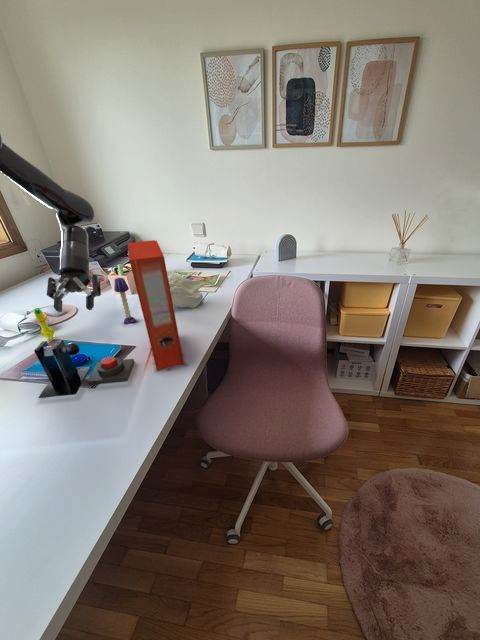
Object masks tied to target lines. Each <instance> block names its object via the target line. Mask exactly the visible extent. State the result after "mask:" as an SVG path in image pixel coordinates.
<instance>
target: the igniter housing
mask: <svg viewBox="0 0 480 640" xmlns="http://www.w3.org/2000/svg"><path fill="white" fill-rule="evenodd" d="M114 358H115V360H116V363H117V365H116V366H115V367H113V368H110V369H104V368H103V367H102V364H101V361H97V362H96V365H95V366H94V368H93V370H92V372H91V373H90V375H89V377H88V379H87V381H86V383H87V384H88V386H92V385H103V384H112V383H113V384H114V383H124V382H128V380H129V378H130V375H131V372H132V369H133V368H134V365H135V359H134V358H128V359H127V358H125V359H121V357H120V358H119V357H114Z"/></svg>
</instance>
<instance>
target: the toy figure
mask: <svg viewBox="0 0 480 640" xmlns="http://www.w3.org/2000/svg"><path fill="white" fill-rule="evenodd" d="M33 311H34V312H33V313H34V316H35V318H36V321H37V323H39V325H40V326H41V327H42V328H41V331H40V334H41V336H43V337H45V338H47V339H48V340H50V339H53V338H54V334H55V330H54V329H53V328H52V327H51V326H48V322H47V314H46V313H43V310H41V309H40V308H39V307H36V308H33Z"/></svg>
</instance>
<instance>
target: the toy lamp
mask: <svg viewBox="0 0 480 640" xmlns="http://www.w3.org/2000/svg"><path fill="white" fill-rule="evenodd" d="M113 288H114V292H116V293H119V294H120V298H121V302H122V306H123V311H124V314H125V318H124V319H123V324H124V325H133V324H135V323H136V322H137V320H136V318H135V317H133V316H132V315H131V311H130V307H129V302H128V298H127V295H126V292H127V291H129V290H130V287H129V286H128V284H127V282H126V280H125V278H123V277H116V278H115V279H114V287H113Z"/></svg>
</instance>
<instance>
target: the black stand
mask: <svg viewBox="0 0 480 640" xmlns="http://www.w3.org/2000/svg"><path fill="white" fill-rule="evenodd" d="M66 345H67V344H66V343H65V341H64V339H59V340H57V341H56V342H55V344H54V345H53V346H54V347H53V348H52V349H51V350H52V352H53V354H54V356H44V348H43V347H48V346H50V345H49V343H48V341H47V340H44V341H41V342H40V343H39V344H38V345H37V347H35V349H34V351H33V352H34V354H35V355H36V357H37V359H38V361H39V363H40V365H41V367H42V369H43V370H44V372H45V374H46V376H47V378H48V380H49V381H48V383H47V384H46V385H45V387H44V389H43V390H42V391H41V393H40V394H39V396H38V397H37V398H38V399H44V398H54V397H64V396H74V395H77V393H78V391H80V388H81V386H82V384H83V383H84V380H85V379H86V377H87V376H88V374H89V372H90V370H91V369H92V366H91V365H90V366H79V367H76V366H75V363H74V361H73V359H72V355H70V354H69V352H68V350H67V348H66Z"/></svg>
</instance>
